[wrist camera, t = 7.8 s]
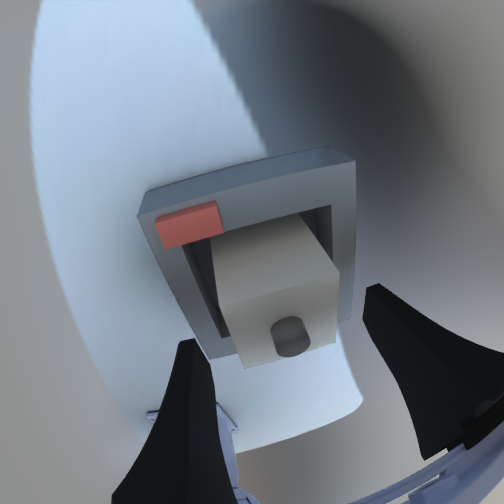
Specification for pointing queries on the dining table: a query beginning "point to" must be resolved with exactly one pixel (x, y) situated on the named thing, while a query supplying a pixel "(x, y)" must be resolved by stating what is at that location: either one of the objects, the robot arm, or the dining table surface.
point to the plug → (275, 289)
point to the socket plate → (243, 214)
